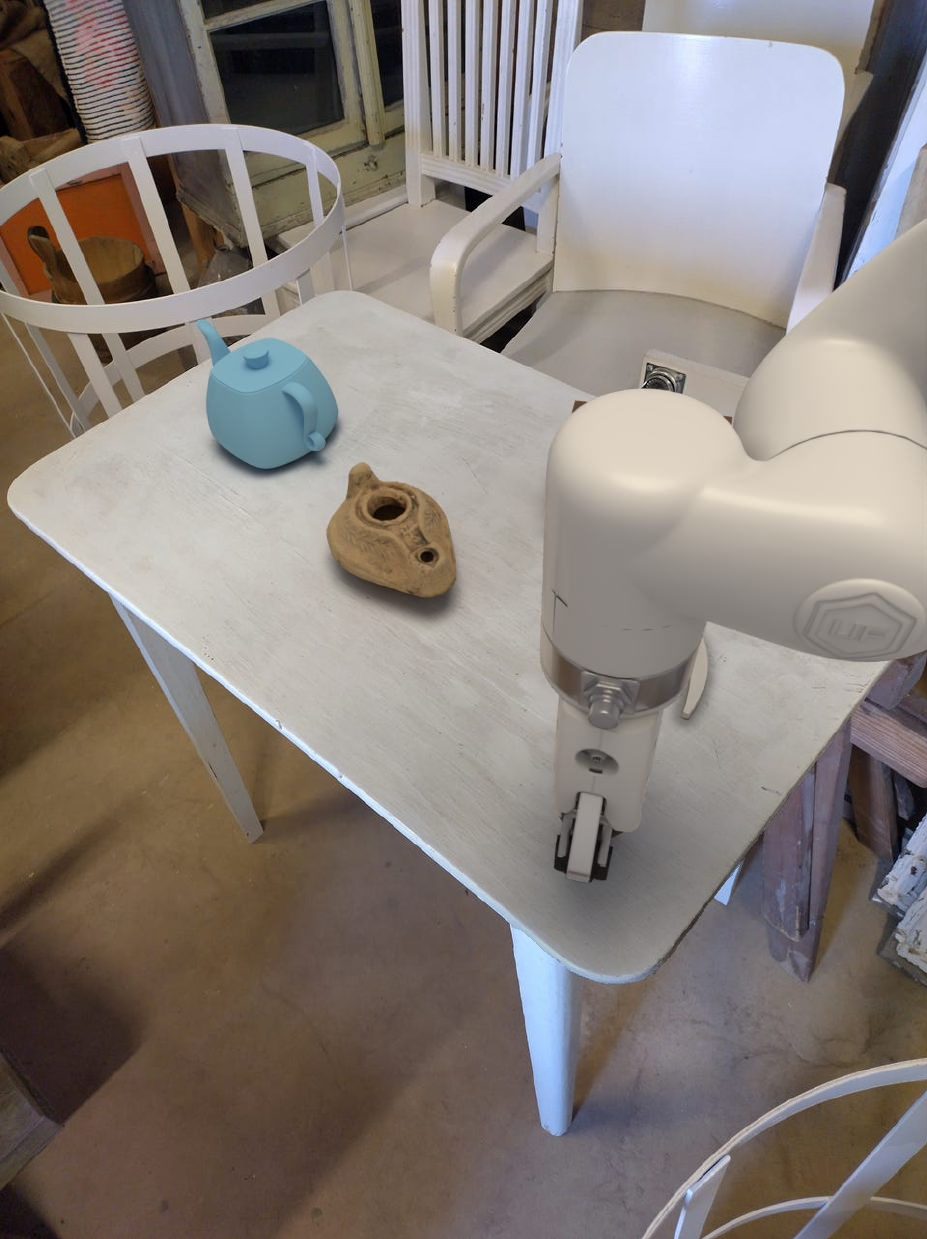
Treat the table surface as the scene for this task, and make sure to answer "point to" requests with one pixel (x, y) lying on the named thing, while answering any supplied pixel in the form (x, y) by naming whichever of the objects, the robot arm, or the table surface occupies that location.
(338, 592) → the table surface
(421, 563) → the oil lamp
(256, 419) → the teapot
